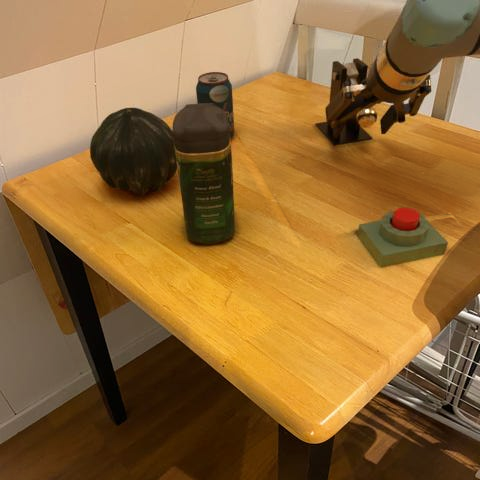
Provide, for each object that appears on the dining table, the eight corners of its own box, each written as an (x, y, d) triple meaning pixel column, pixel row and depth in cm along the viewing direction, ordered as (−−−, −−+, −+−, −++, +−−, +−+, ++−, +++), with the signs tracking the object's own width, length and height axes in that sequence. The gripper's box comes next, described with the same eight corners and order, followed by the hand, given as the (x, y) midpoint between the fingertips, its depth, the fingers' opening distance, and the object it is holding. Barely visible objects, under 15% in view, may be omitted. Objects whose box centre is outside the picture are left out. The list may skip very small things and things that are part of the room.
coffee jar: (237, 244, 74) (230, 125, 61) (186, 248, 74) (167, 129, 61) (234, 210, 81) (227, 95, 68) (186, 213, 81) (170, 99, 68)
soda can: (234, 145, 98) (231, 83, 89) (200, 147, 98) (193, 84, 89) (234, 130, 102) (231, 69, 94) (202, 131, 103) (195, 71, 94)
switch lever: (376, 130, 88) (382, 115, 84) (357, 133, 87) (363, 118, 84) (353, 74, 92) (358, 58, 88) (335, 77, 91) (340, 61, 88)
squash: (122, 127, 93) (83, 85, 78) (196, 136, 90) (169, 95, 75) (107, 199, 93) (64, 171, 78) (180, 211, 90) (150, 184, 75)
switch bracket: (371, 144, 95) (383, 69, 85) (333, 151, 94) (340, 75, 84) (350, 124, 102) (359, 52, 92) (314, 129, 101) (319, 57, 91)
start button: (409, 215, 71) (412, 205, 70) (422, 229, 69) (424, 218, 68) (386, 220, 71) (389, 209, 70) (398, 234, 68) (401, 223, 67)
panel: (416, 224, 76) (422, 202, 73) (444, 254, 70) (451, 231, 67) (357, 236, 74) (360, 213, 72) (380, 267, 69) (385, 244, 66)
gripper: (329, 98, 69) (305, 153, 91) (477, 87, 69) (416, 144, 92) (325, 45, 69) (301, 113, 91) (472, 34, 69) (412, 104, 92)
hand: (359, 128), depth 91 cm, fingers open, 8 cm apart
